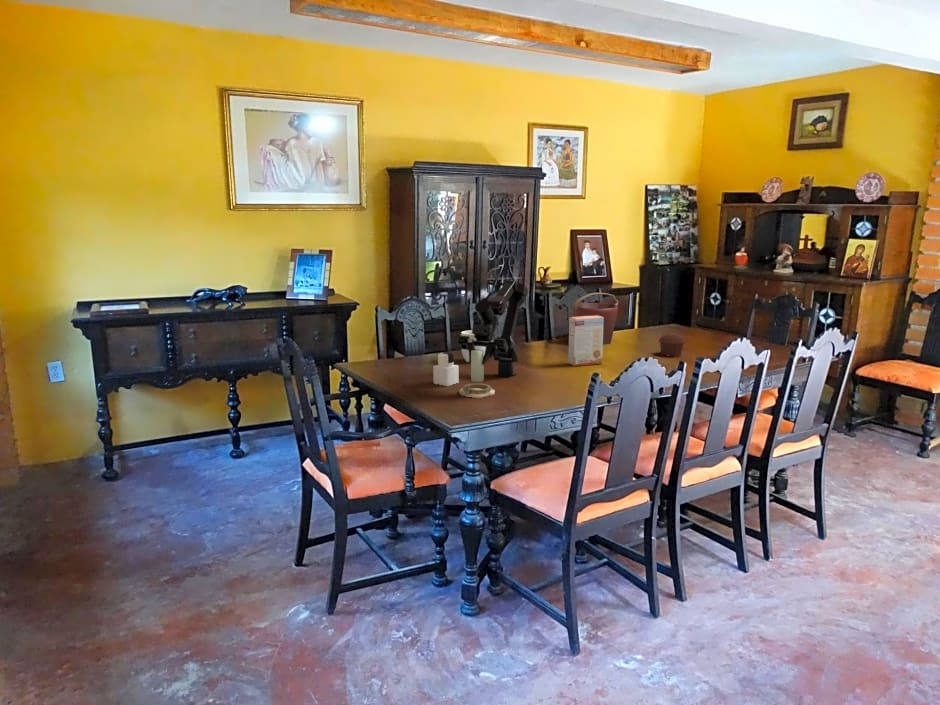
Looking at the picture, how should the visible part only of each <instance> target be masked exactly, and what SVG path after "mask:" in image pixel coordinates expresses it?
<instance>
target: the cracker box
mask: <svg viewBox="0 0 940 705" xmlns="http://www.w3.org/2000/svg"><path fill="white" fill-rule="evenodd" d="M603 320H604V317H601V316H598V315H596V316H580V317H573V316H570V317H569V318H568V321H569V322H568V359H567V360H568V362H567V363H568V364H569V365H571V366H573V367H579V365H581V366H592V365H600V364H601V365H603V348H604V345H603Z"/></svg>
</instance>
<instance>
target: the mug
mask: <svg viewBox="0 0 940 705" xmlns="http://www.w3.org/2000/svg"><path fill="white" fill-rule="evenodd" d="M460 335H461V336H469V338H470V339H473V340H476V338H475V337H474V335H475V334H472V329H471V330H470V329H469V330H464V331H461V332H460ZM492 342H494V340H492ZM460 350H461V354H462V357H463V359H464V360H465V362H466V363H469V351H468V350H465V349H461V348H460ZM475 350H483V351H484V355H485V352H486V347H482V346H475Z"/></svg>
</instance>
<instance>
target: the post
mask: <svg viewBox="0 0 940 705" xmlns="http://www.w3.org/2000/svg"><path fill="white" fill-rule="evenodd" d="M484 354H485V353H484V351H483V350H472V351H471V363H470V370H471V371H470V381H472V382H474V383H475V382H476V383H480V382H483V381H484V378H485V377H484V374H485V372H484V371H485V370H484V367H485V366H484V365H485V364H484V365H483V364H482V361H483V358H484Z"/></svg>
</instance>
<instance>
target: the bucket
mask: <svg viewBox="0 0 940 705" xmlns="http://www.w3.org/2000/svg"><path fill="white" fill-rule="evenodd" d="M597 295H604V296H610V299H611V303H605V302H582V301H583V300H586V299H587V298H589V297H592V296H597ZM618 305H619V300H618V299H616V296H615V295H614V294H613V293H612V294H610V293H607V292H590V293H588V294H585V295H583V296H581V297H580V298H578V299H576V300H575V302H573V304H572V317H580V316H596V315H598V316H601V317H604V320H603V346H604V345H606V346H607V345H610V344H611V343H612V338H613V334H614V330H615V326H616V321H617V317H618V313H619V312H618V309H619V307H618Z"/></svg>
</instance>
